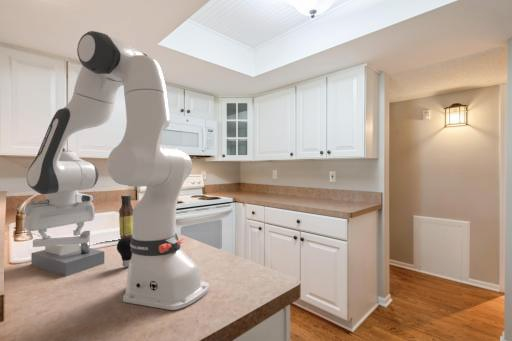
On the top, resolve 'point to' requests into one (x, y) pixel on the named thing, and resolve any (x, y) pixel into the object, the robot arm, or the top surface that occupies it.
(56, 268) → the housing
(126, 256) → the light bulb
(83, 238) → the t key
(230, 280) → the top surface
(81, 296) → the top surface
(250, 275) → the top surface
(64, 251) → the cover
